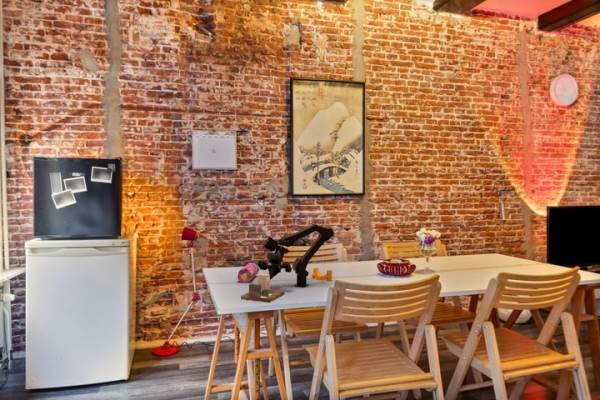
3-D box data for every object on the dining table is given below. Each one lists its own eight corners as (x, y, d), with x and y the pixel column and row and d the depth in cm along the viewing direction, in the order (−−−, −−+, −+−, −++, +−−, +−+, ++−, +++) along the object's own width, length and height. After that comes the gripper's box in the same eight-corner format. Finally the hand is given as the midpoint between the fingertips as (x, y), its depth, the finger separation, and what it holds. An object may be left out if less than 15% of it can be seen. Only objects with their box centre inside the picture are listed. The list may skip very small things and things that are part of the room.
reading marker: (263, 294, 218) (263, 285, 218) (268, 295, 217) (268, 286, 217) (262, 295, 217) (262, 286, 217) (267, 295, 216) (267, 287, 216)
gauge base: (257, 291, 234) (257, 277, 234) (284, 294, 228) (284, 280, 228) (240, 298, 217) (240, 284, 217) (269, 302, 211) (269, 287, 211)
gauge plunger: (261, 290, 228) (261, 273, 228) (275, 291, 225) (276, 274, 225) (257, 292, 224) (257, 274, 224) (272, 293, 221) (272, 276, 221)
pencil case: (252, 284, 251) (252, 268, 251) (236, 283, 252) (236, 268, 252) (259, 276, 273) (259, 262, 273) (244, 275, 274) (245, 261, 274)
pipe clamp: (311, 279, 267) (311, 268, 267) (315, 278, 271) (315, 267, 271) (328, 281, 260) (328, 271, 260) (331, 280, 264) (332, 270, 264)
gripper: (259, 245, 239) (249, 269, 229) (290, 248, 233) (281, 272, 223) (265, 257, 247) (256, 280, 237) (295, 260, 240) (287, 284, 230)
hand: (269, 279), depth 232 cm, fingers closed
